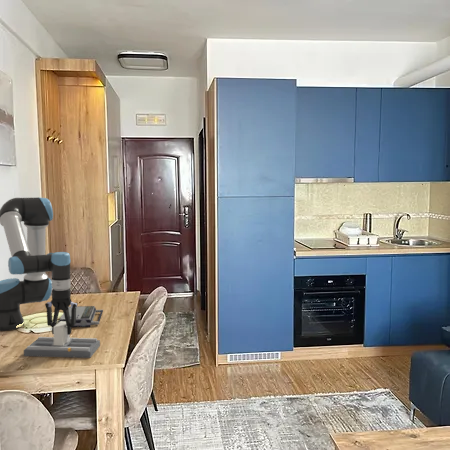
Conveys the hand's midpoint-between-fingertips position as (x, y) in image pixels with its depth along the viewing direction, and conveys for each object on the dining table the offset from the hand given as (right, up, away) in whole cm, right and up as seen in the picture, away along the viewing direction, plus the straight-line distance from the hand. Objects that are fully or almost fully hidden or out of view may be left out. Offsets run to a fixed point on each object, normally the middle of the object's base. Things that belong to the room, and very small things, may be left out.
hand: (61, 341), depth 196 cm
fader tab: (0, -1, 0) cm, 1 cm away
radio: (-5, 0, +43) cm, 43 cm away
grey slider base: (0, -4, 0) cm, 4 cm away
